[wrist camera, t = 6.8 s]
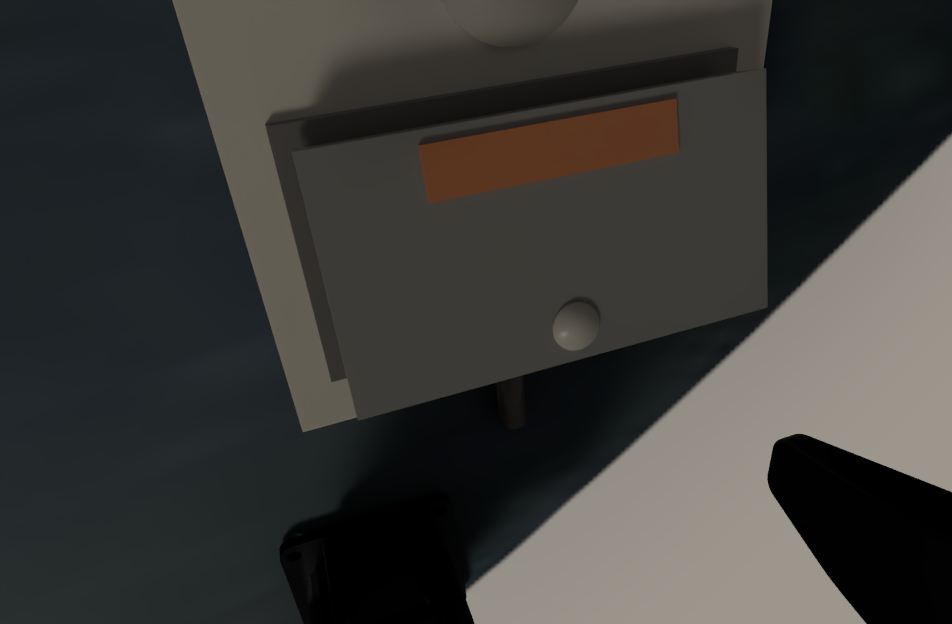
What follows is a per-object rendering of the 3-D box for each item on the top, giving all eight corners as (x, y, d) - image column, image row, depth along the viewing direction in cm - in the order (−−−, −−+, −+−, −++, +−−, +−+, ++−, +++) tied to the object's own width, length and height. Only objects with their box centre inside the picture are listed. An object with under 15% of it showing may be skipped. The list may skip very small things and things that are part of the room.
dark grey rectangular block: (737, 295, 18) (770, 308, 17) (352, 399, 16) (358, 423, 14) (732, 71, 16) (769, 67, 15) (291, 149, 14) (292, 152, 12)
